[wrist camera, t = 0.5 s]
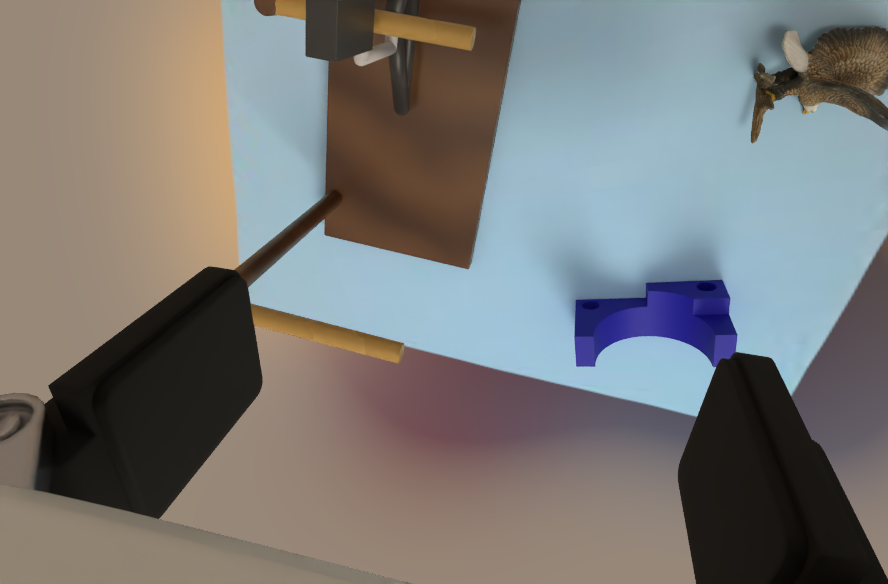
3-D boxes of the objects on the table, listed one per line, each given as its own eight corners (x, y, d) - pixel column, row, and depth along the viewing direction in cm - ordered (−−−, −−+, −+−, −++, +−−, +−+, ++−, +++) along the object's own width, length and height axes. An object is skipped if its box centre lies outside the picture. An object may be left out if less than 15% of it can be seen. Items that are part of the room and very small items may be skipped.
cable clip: (722, 280, 45) (739, 318, 40) (718, 325, 47) (734, 366, 42) (575, 285, 49) (573, 321, 44) (577, 327, 51) (576, 366, 46)
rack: (339, -102, 38) (129, -171, 21) (534, -72, 36) (484, -119, 19) (329, 230, 52) (197, 357, 34) (471, 263, 50) (408, 415, 33)
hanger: (413, -116, 34) (305, -173, 21) (437, -113, 34) (343, -167, 21) (393, 111, 42) (304, 173, 29) (413, 115, 41) (333, 179, 29)
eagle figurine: (743, 161, 39) (898, 158, 36) (754, 126, 33) (946, 119, 29) (752, 58, 40) (907, 45, 36) (765, 4, 33) (956, -19, 29)
